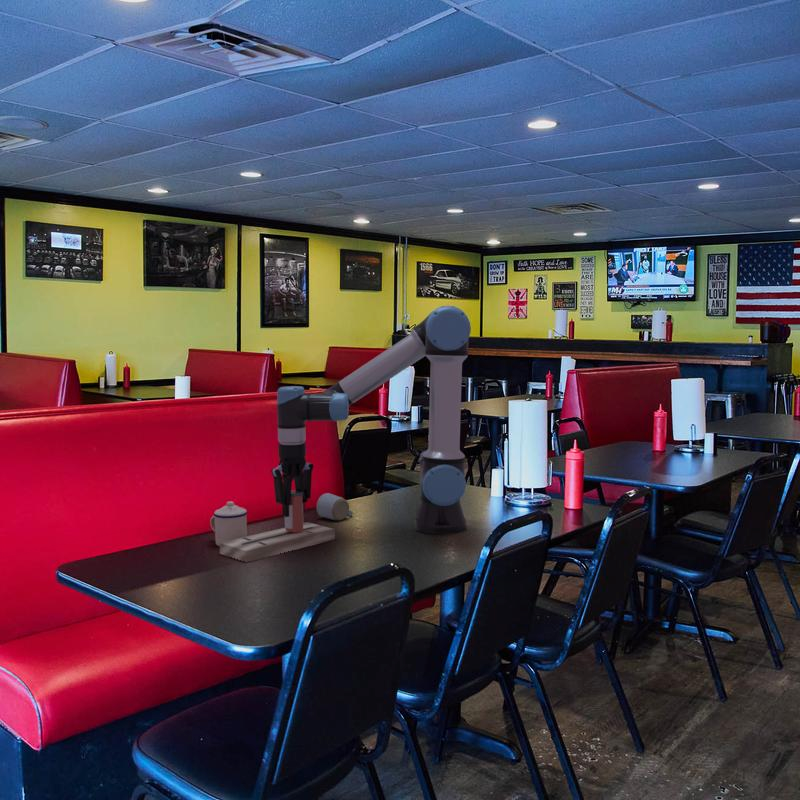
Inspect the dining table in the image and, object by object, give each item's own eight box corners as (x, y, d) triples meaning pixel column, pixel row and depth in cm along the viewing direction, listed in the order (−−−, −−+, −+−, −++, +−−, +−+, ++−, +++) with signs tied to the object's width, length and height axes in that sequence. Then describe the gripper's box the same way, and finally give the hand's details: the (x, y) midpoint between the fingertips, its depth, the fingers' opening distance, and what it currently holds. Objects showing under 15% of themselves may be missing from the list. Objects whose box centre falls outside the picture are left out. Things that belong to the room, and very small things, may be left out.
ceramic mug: (333, 523, 249) (333, 498, 249) (316, 519, 255) (315, 494, 254) (358, 517, 257) (358, 493, 256) (341, 513, 263) (341, 490, 262)
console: (334, 539, 230) (334, 528, 230) (246, 562, 209) (246, 550, 209) (307, 532, 239) (307, 521, 239) (219, 553, 217) (219, 542, 217)
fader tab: (304, 530, 227) (303, 492, 226) (294, 533, 225) (293, 494, 224) (294, 528, 230) (293, 490, 229) (284, 530, 228) (283, 492, 227)
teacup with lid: (254, 541, 229) (253, 500, 228) (232, 549, 222) (230, 506, 221) (223, 536, 236) (221, 496, 235) (200, 543, 228) (198, 502, 227)
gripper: (306, 438, 234) (308, 519, 236) (259, 444, 222) (262, 529, 224) (323, 440, 228) (325, 523, 230) (276, 447, 217) (279, 534, 219)
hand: (294, 526), depth 227 cm, fingers closed on fader tab, 3 cm apart
